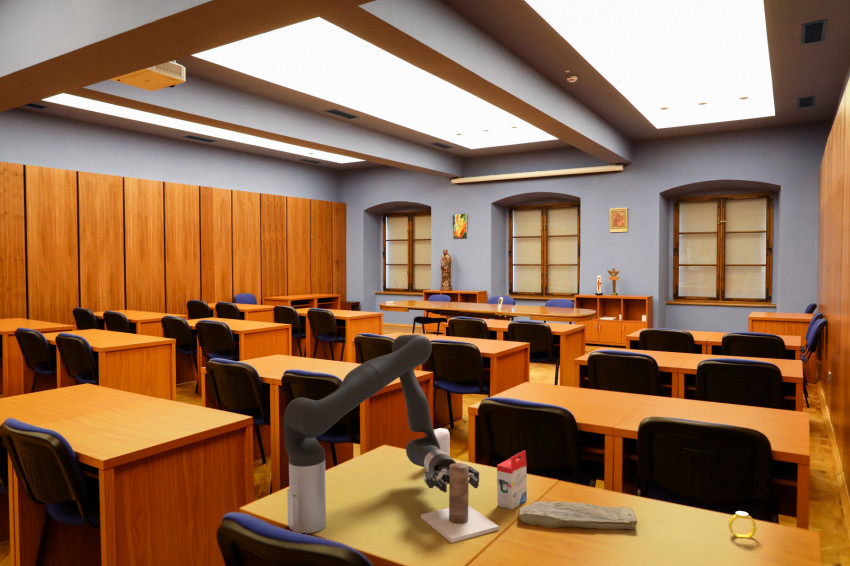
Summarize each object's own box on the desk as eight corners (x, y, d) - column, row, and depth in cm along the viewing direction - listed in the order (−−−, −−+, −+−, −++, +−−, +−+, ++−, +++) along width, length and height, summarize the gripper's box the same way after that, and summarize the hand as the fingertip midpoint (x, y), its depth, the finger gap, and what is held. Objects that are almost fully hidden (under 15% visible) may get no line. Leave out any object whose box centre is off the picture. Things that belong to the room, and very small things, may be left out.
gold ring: (732, 540, 140) (730, 515, 139) (727, 534, 142) (726, 511, 142) (758, 539, 139) (756, 515, 139) (753, 534, 141) (751, 510, 141)
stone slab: (518, 497, 160) (631, 499, 155) (519, 512, 160) (631, 514, 155) (518, 515, 148) (640, 518, 143) (519, 531, 148) (641, 534, 143)
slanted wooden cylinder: (455, 525, 146) (455, 470, 146) (445, 517, 151) (446, 464, 151) (471, 521, 148) (472, 467, 149) (461, 514, 153) (462, 462, 153)
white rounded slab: (441, 460, 200) (441, 424, 200) (451, 462, 197) (451, 426, 197) (423, 468, 192) (423, 431, 191) (434, 471, 189) (433, 433, 189)
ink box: (512, 496, 167) (511, 446, 167) (527, 500, 164) (526, 449, 164) (496, 506, 161) (496, 454, 160) (512, 510, 157) (511, 457, 157)
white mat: (451, 542, 139) (451, 538, 139) (421, 518, 153) (421, 514, 153) (498, 530, 146) (498, 526, 146) (465, 507, 160) (465, 503, 160)
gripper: (416, 456, 161) (434, 475, 145) (463, 450, 165) (486, 468, 149) (416, 482, 161) (435, 504, 145) (463, 476, 165) (486, 497, 150)
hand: (461, 486), depth 147 cm, fingers open, 8 cm apart
